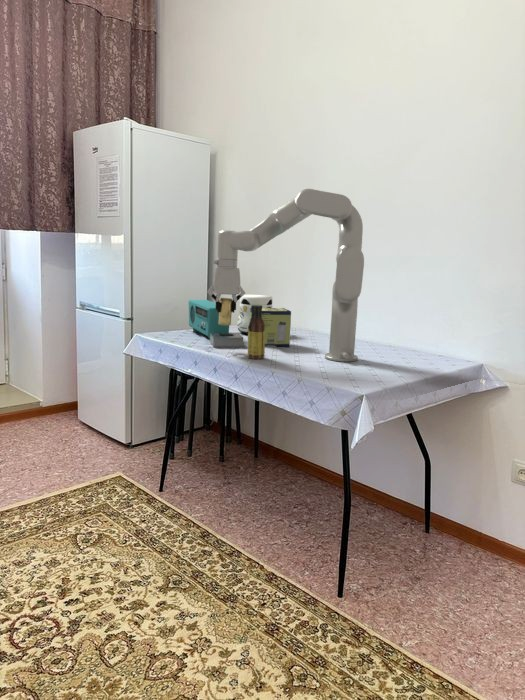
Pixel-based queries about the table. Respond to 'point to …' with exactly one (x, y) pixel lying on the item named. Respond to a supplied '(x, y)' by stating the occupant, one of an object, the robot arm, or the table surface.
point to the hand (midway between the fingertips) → (225, 311)
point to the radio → (205, 318)
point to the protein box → (276, 326)
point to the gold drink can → (225, 311)
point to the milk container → (245, 309)
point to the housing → (226, 340)
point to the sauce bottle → (256, 334)
